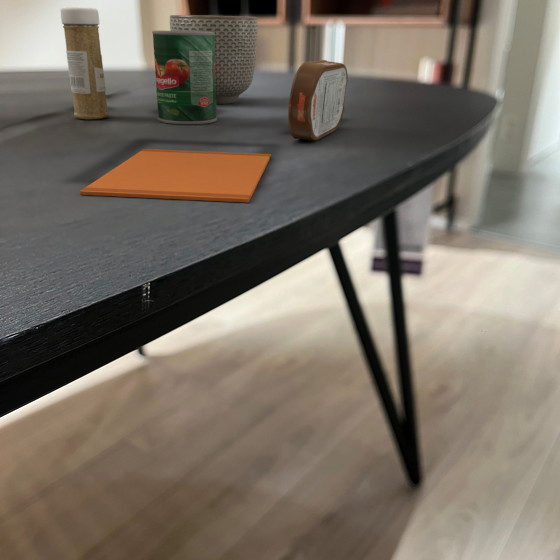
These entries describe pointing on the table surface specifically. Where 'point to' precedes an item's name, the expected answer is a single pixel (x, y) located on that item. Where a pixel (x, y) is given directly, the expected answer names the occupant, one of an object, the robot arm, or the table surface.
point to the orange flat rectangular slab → (183, 176)
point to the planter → (226, 50)
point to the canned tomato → (185, 76)
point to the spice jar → (85, 62)
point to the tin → (317, 99)
